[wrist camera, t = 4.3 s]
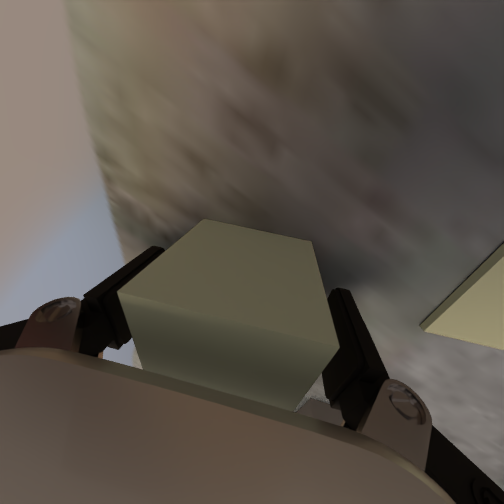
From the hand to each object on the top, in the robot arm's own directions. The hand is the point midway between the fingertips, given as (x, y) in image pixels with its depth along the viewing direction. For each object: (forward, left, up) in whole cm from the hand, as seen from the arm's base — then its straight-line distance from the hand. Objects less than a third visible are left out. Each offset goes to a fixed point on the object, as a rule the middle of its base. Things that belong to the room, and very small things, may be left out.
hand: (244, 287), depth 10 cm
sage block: (0, 0, -1) cm, 1 cm away
